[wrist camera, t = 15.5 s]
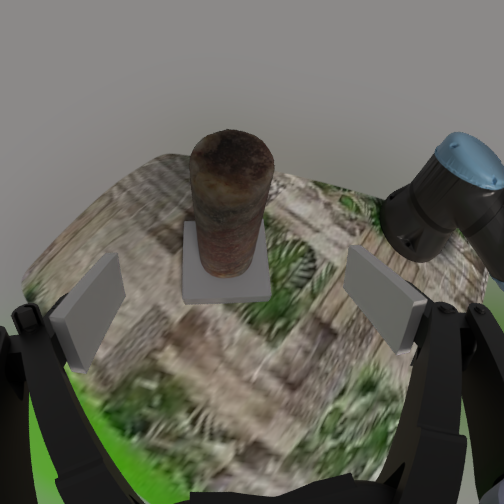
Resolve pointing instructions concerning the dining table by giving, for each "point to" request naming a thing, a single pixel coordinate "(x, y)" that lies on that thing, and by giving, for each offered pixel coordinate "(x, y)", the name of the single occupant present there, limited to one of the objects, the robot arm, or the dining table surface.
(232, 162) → the candle
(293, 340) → the dining table surface
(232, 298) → the stand
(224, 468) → the dining table surface
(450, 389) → the robot arm
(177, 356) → the dining table surface
